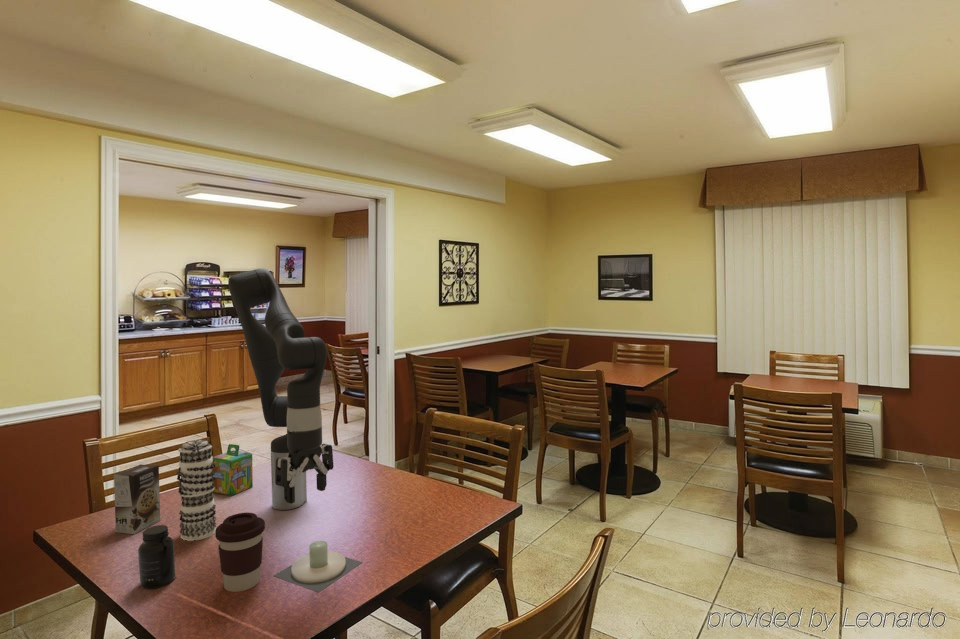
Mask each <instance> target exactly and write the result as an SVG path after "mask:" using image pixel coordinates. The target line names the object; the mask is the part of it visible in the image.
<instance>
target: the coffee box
mask: <svg viewBox="0 0 960 639" xmlns="http://www.w3.org/2000/svg"><path fill="white" fill-rule="evenodd" d="M113 484H114V485H113V487H114V488H113V489H114V490H113V491H114V521H115V526H114V527H115V532H116V533H121V534H122V533H123V534H131V535H135V534H138V533H139V532H141V531H144V530H146V529H147V528H150V527H152V525H154V524H157V523H158V522H160V521H161V499H160V498H161V496H160V492H161V491H160V466H159V465H157V464H139V465H135V466H133V467H131V468H128V469H124V470H122V471H119V472H116V473H114V474H113Z"/></svg>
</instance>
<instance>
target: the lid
mask: <svg viewBox="0 0 960 639" xmlns="http://www.w3.org/2000/svg"><path fill="white" fill-rule="evenodd" d="M308 548H309V553H308V554H305V555H303V556H301V557H299V558H298V559H296V560H295V561H294V562H293V565H292V564H291V565H292V568H291V572H292V577H293V578H294V579H295V580H297V581H299V582H303V583H319V582H324V581H327V580H330V579H333V578H335V577H337V576H338V575H340V574H341V573H342V572H343V571H344V569H345V567H346V560H345V557H346V556H344V555H343V554H341V553H340V552H338V551H337V552H336V551H331V550H328V542H327V541H324V540H316V541H313V542H311V543H310V544H309V546H308Z"/></svg>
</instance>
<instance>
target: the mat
mask: <svg viewBox="0 0 960 639" xmlns="http://www.w3.org/2000/svg"><path fill="white" fill-rule="evenodd" d="M344 557H345V560H346V567H345V569H344V571H343V572H342V573H341V574H340V575H338V576H337V577H335V578H333V579H330V580H327V581H324V582H319V583H303V582H299V581H297V580H295V579H294V578H293V577H292V572H291V568H292V565H293V564H291V565H289V566H288V567H286V568H284V569H283V570H281V571H279V572H277V573H275V574H274V575H273V577H275V578H277V579H280V580H282V581H286V582H289V583H291V584H294V585H297V586H300V587H303V588H305V589H308V590H311V591H313V592H316V593H321V591H323V590H324V589H327V587H329V586H330V585H332V584H334V583H335V582H336V581H338V580H340V578H342V577H344V576H346V575H347V574H348V573H350V572H351V571H352V570H354V569H356V568H357V567H358V566H359V565H361V564H363V563H364V562H363V561H359V560H356V559H353V558H351V557H347V556H344Z"/></svg>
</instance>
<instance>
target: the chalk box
mask: <svg viewBox="0 0 960 639" xmlns="http://www.w3.org/2000/svg"><path fill="white" fill-rule="evenodd" d="M227 446H228V447H227V450H226V452H224V453H221V454H218V455H215V456H212V457H213V459H215V462H213V463H214V464H215V465H216V466H215V467H214V468H212V470H213V471H215V474H214V475H213V477H215V480H214V481H212V484H215V488H214V490H213V493H216V494H219V495H225V496H229V497H232V496H234V495H237V494H239V493H241V492H243V491H247V490H248V489H250V488H252V487H253V486H254V485H253V480H254V479H253V454H252V452H246V451H241V450H240V445H239V444H234V443H229V444H228V445H227ZM232 449H234V450H232Z"/></svg>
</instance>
